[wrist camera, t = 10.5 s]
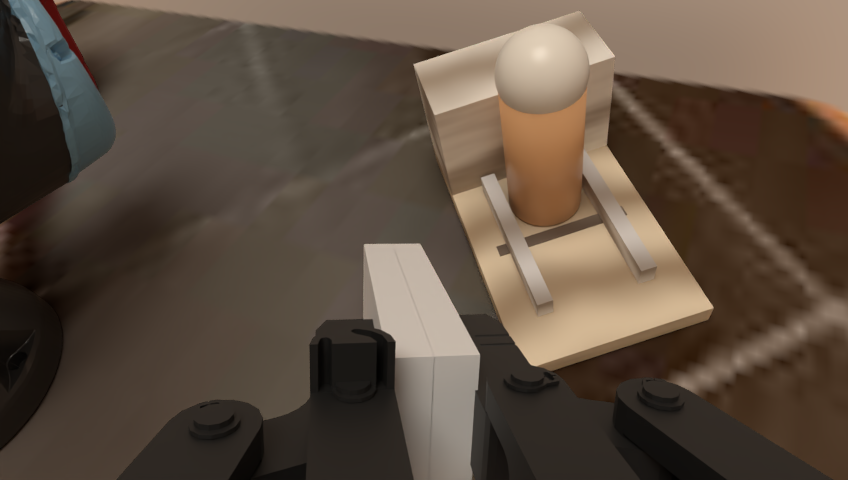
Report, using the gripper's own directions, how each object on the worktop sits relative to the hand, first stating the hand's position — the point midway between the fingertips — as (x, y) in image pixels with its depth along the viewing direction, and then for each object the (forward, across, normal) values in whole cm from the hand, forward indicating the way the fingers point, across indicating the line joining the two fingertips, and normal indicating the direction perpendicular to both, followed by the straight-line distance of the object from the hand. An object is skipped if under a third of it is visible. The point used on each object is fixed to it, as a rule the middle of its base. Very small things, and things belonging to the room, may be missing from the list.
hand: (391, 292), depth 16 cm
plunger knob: (+24, +13, -2) cm, 28 cm away
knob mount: (+24, +14, -4) cm, 28 cm away
